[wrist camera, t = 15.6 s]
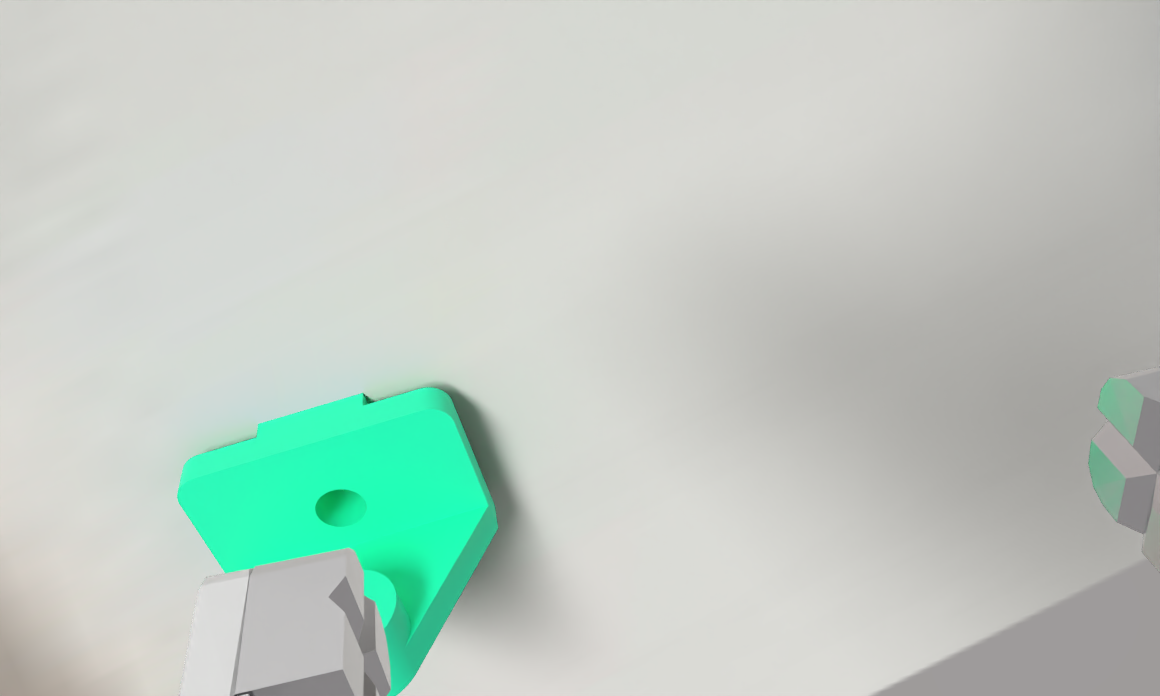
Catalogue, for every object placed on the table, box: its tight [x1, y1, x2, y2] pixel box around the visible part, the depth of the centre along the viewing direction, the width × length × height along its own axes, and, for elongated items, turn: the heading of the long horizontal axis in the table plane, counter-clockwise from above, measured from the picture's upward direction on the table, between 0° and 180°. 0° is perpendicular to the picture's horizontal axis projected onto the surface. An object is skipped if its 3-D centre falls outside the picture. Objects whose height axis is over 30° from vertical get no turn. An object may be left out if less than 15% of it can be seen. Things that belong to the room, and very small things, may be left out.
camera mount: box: [177, 387, 498, 696], centre depth 43 cm, size 12×8×10 cm, turn 104°
